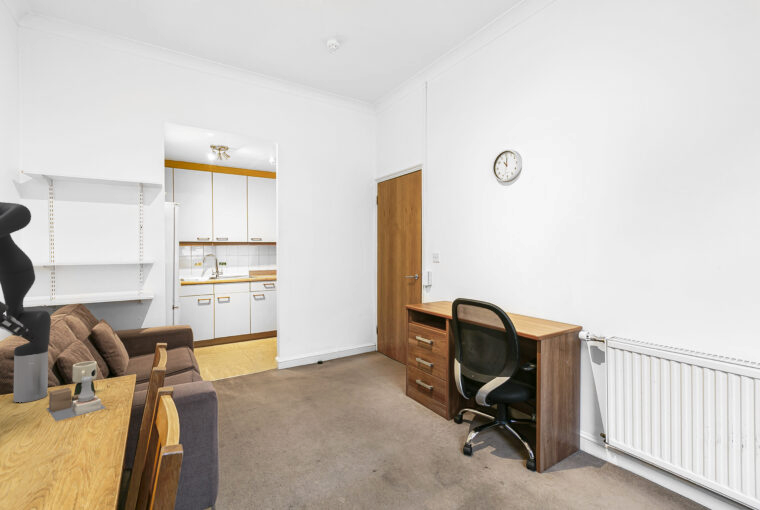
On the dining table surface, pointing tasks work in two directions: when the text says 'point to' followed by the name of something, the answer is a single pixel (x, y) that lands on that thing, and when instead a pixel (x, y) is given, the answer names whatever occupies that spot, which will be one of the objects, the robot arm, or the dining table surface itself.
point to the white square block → (86, 406)
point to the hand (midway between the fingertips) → (33, 338)
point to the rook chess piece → (86, 390)
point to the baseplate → (67, 413)
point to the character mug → (84, 374)
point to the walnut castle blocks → (61, 399)
